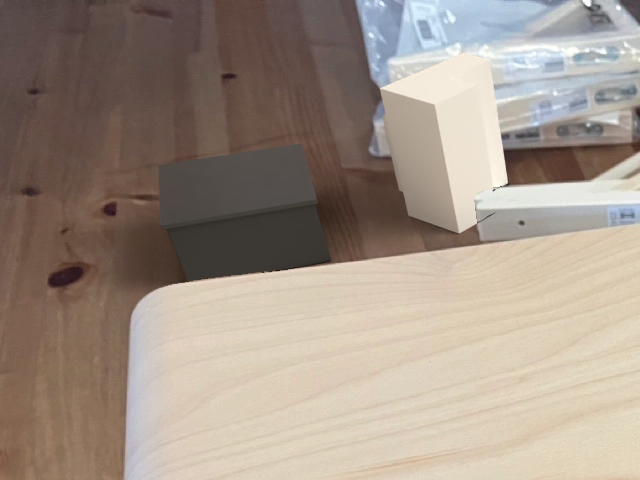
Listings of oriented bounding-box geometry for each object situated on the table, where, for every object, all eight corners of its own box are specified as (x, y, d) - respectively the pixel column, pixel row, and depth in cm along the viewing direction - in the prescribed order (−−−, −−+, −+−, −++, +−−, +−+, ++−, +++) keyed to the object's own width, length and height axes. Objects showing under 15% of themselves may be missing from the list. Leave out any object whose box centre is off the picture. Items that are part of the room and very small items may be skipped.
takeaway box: (186, 289, 88) (160, 225, 84) (182, 226, 96) (157, 164, 92) (335, 262, 92) (317, 199, 87) (318, 203, 100) (301, 143, 96)
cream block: (459, 233, 95) (434, 104, 87) (374, 203, 100) (343, 77, 91) (533, 191, 102) (516, 67, 94) (450, 164, 106) (427, 43, 98)
